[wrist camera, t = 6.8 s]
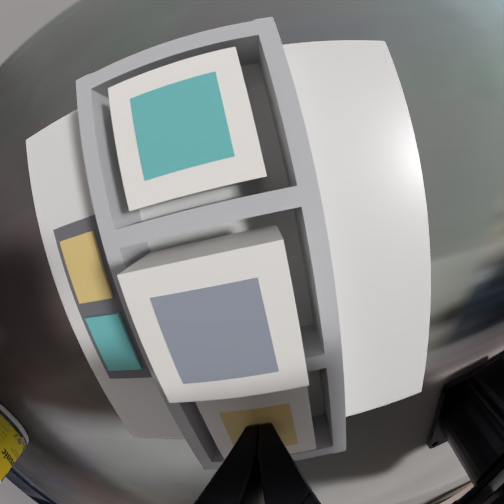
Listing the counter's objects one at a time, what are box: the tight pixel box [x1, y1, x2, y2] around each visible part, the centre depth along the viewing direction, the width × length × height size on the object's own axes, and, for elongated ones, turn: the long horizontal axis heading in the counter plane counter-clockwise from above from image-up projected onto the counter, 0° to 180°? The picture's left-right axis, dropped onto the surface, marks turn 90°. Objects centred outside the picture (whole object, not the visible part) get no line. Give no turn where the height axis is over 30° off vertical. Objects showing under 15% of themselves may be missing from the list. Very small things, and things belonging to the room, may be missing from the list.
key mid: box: [117, 225, 309, 403], centre depth 7 cm, size 3×3×2 cm
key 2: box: [195, 386, 316, 460], centre depth 9 cm, size 3×3×2 cm
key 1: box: [108, 47, 267, 211], centre depth 7 cm, size 3×3×2 cm
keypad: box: [26, 17, 431, 469], centre depth 9 cm, size 14×14×4 cm
